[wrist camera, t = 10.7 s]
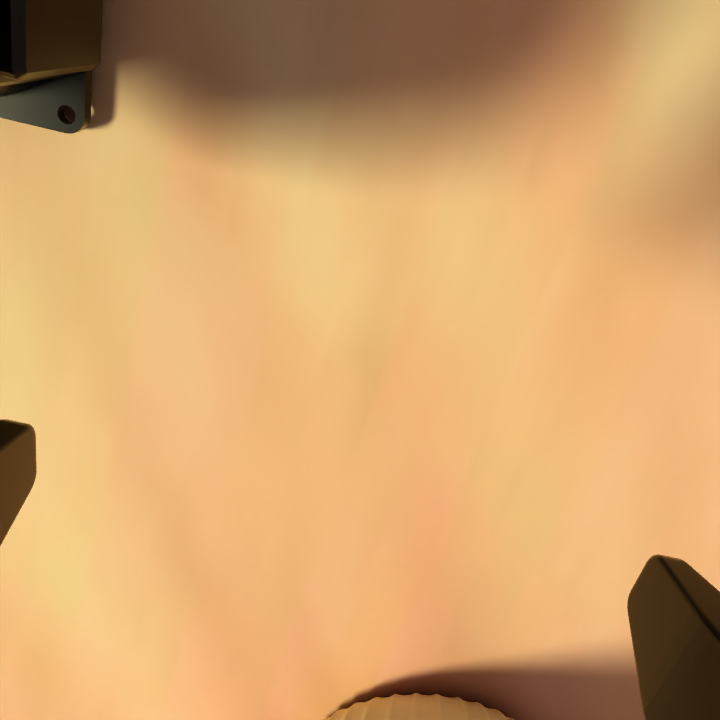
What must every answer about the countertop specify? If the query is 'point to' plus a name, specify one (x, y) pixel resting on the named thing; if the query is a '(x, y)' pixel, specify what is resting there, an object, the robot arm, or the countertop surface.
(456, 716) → the canister
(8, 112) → the robot arm
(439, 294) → the countertop surface
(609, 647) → the countertop surface
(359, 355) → the countertop surface
